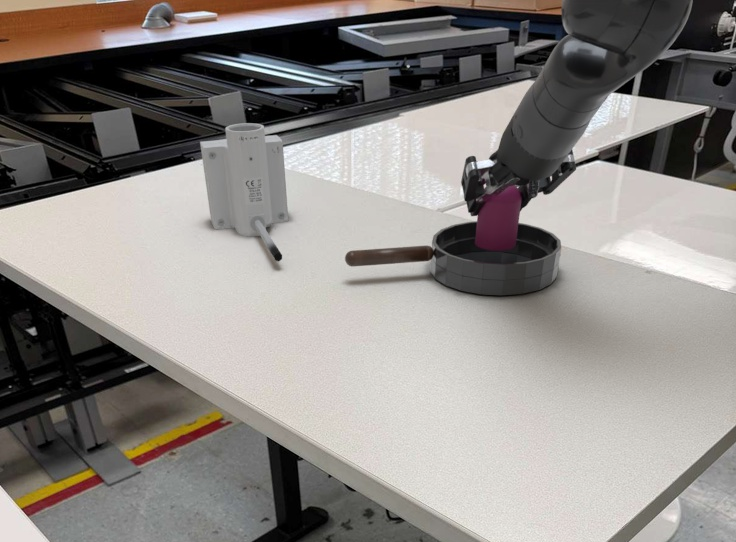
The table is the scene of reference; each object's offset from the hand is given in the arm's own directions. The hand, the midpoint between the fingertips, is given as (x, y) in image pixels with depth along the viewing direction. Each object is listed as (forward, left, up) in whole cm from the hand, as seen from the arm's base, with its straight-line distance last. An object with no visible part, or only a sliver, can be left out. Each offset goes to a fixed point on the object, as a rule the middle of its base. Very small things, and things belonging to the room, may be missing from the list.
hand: (493, 207), depth 95 cm
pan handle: (+14, +2, -6) cm, 16 cm away
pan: (0, +2, -8) cm, 8 cm away
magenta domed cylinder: (0, +2, -4) cm, 5 cm away
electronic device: (+31, -17, -9) cm, 36 cm away
